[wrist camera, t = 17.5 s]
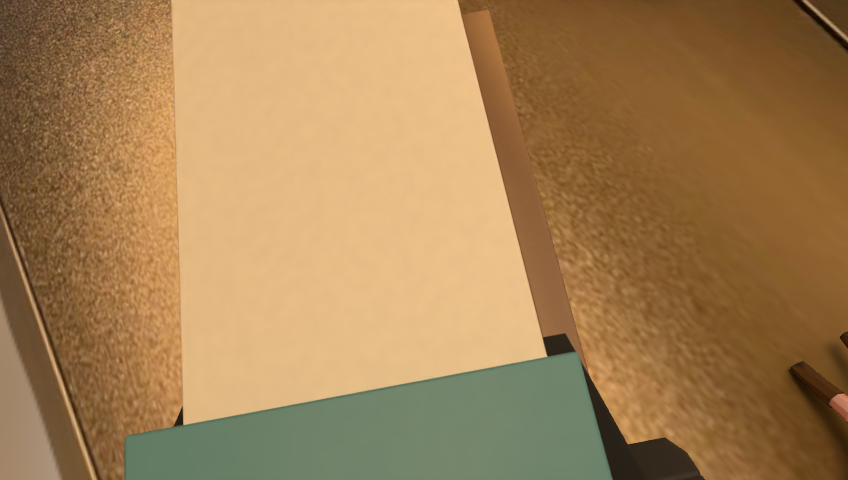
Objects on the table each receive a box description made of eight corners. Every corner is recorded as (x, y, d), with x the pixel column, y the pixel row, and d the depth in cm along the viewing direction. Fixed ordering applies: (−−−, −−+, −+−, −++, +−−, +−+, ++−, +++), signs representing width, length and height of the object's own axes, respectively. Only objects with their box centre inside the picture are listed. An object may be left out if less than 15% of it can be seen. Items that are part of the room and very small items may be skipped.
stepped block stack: (608, 714, 17) (742, 894, 8) (286, 776, 17) (102, 1019, 8) (434, -18, 26) (417, -269, 18) (230, 19, 26) (120, -216, 18)
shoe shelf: (290, 783, 26) (241, 851, 20) (240, 128, 38) (201, 60, 32) (648, 713, 26) (696, 763, 21) (486, 84, 38) (488, 8, 33)
